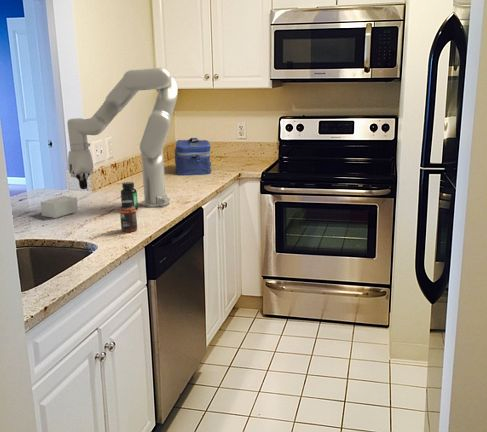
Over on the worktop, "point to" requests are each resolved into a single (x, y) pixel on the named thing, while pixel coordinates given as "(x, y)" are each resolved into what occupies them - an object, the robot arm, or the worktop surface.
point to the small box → (59, 206)
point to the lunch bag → (192, 157)
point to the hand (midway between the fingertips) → (83, 188)
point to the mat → (39, 216)
